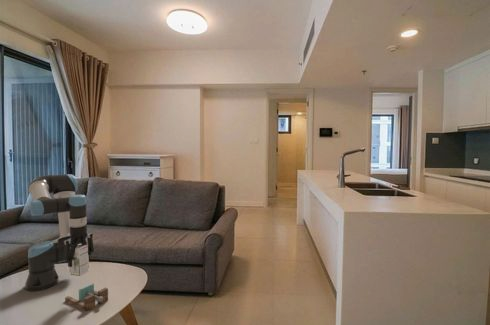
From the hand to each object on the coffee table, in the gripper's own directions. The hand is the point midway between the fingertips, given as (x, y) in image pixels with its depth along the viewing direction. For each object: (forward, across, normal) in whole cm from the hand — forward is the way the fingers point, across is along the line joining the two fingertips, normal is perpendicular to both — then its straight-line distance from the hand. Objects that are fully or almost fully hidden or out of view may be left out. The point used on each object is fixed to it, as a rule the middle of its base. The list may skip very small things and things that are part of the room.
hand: (79, 269), depth 139 cm
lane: (+15, 0, -5) cm, 16 cm away
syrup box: (+2, 0, 0) cm, 2 cm away
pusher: (+15, 0, -11) cm, 18 cm away
